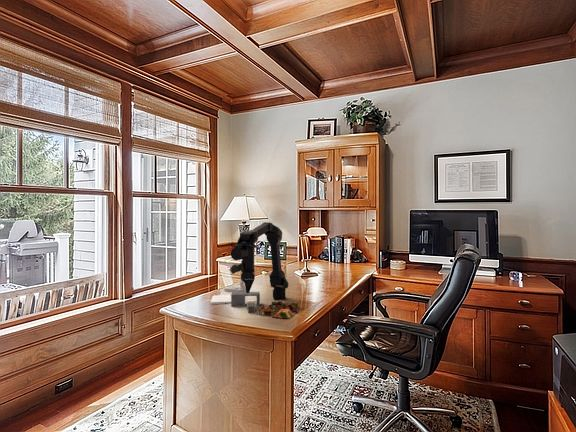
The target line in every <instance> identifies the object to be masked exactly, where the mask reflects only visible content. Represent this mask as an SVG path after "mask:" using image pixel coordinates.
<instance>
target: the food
mask: <svg viewBox="0 0 576 432" xmlns="http://www.w3.org/2000/svg"><path fill="white" fill-rule="evenodd" d="M301 305H302V303H300V302H295V301H292V302H291V301H285V302H283V301H280V300H279V301H271V304H268V306H264V305H262V306H261V307H260V308H257V311H258V313H259V314H258V313H257V314H256V315H257V316H266V317H267V316H268V317H271V318H272V319H284V318H285V319H291V318H292V317H293V316H294V315H296V314H299V313H300V312H299V310H298V307H299V306H301Z"/></svg>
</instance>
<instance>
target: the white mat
mask: <svg viewBox="0 0 576 432" xmlns="http://www.w3.org/2000/svg"><path fill="white" fill-rule="evenodd" d="M209 303H210V305H222V304H224V305H225V303H231V294H229V295H228V294H227V295H226V294H225V295H223V294H222V295H212V297H211V300H210V302H209Z"/></svg>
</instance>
